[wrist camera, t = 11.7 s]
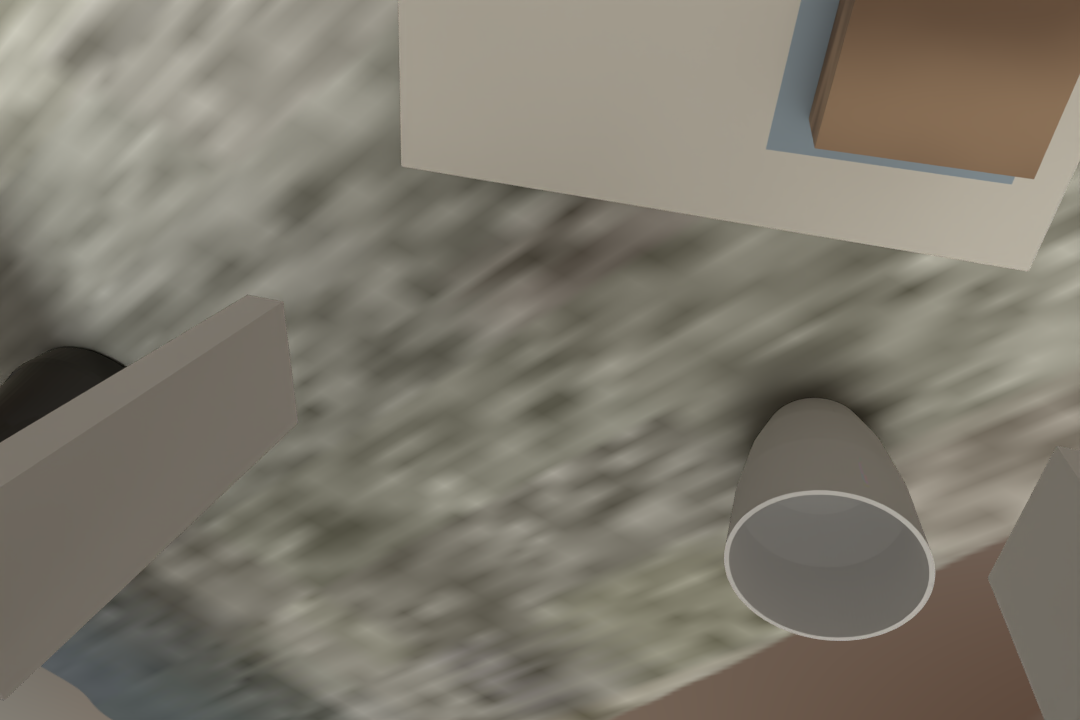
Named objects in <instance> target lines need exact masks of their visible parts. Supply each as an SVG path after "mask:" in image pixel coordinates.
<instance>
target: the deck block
mask: <svg viewBox="0 0 1080 720" xmlns="http://www.w3.org/2000/svg"><path fill="white" fill-rule="evenodd" d="M1079 75H1080V0H840V1H839V5H838V9H837V12H836V16H835V20H834V24H833V28H832V31H831V35H830V39H829V43H828V47H827V50H826V54H825V58H824V62H823V66H822V70H821V73H820V77H819V81H818V85H817V89H816V92H815V96H814V100H813V104H812V108H811V111H810V115H809V123H810V128H811V133H812V138H813V143H814V148H816V149H823V150H830V151H837V152H844V153H851V154H858V155H865V156H872V157H880V158H887V159H894V160H901V161H908V162H915V163H922V164H929V165H936V166H943V167H950V168H957V169H964V170H971V171H978V172H985V173H993V174H1000V175H1007V176H1014V177H1021V178H1028V179H1034V178H1035V176H1036V174H1037V171H1038V169H1039V167H1040V165H1041V162H1042V160H1043V158H1044V155H1045V153H1046V151H1047V149H1048V146H1049V144H1050V142H1051V139H1052V137H1053V135H1054V132H1055V130H1056V128H1057V126H1058V123H1059V121H1060V119H1061V116H1062V114H1063V112H1064V109H1065V107H1066V105H1067V103H1068V100H1069V98H1070V96H1071V93H1072V91H1073V89H1074V87H1075V84H1076V82H1077V80H1078V77H1079Z"/></svg>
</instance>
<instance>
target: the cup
mask: <svg viewBox="0 0 1080 720" xmlns="http://www.w3.org/2000/svg"><path fill="white" fill-rule="evenodd" d="M724 564H725V570H726V574H727V577H728V580H729V582H730V584H731V586H732V588H733V590H734V591H735V593H736V594H737V595H738V597H739V598H740V599H741V600H742V602H743V603H744V604H745V605H746V606H747V607H748V608H749V609H751V610H752V611H753V612H754V613H755V614H757V615H758V616H760V617H761V618H762V619H764V620H766V621H767V622H769V623H771V624H773V625H775V626H777V627H779V628H781V629H783V630H786V631H788V632H791V633H794V634H797V635H801V636H805V637H810V638H815V639H821V640H833V641H847V640H858V639H864V638H870V637H874V636H877V635H880V634H884V633H886V632H889V631H891V630H894V629H896V628H898V627H899V626H901V625H903V624H904V623H906V622H907V621H909V620H910V619H911V618H913V617H914V616H915V615H916V614H917V613H918V612H919V611H920V610H921V609H922V607H923V606H924V604H925V603H926V602H927V600H928V598H929V596H930V594H931V592H932V589H933V585H934V580H935V565H934V560H933V556H932V553H931V550H930V548H929V545H928V542H927V540H926V537H925V534H924V532H923V529H922V526H921V523H920V521H919V518H918V515H917V513H916V510H915V507H914V504H913V502H912V499H911V496H910V494H909V491H908V488H907V486H906V484H905V482H904V480H903V479H902V477H901V475H900V474H899V472H898V470H897V468H896V467H895V465H894V463H893V462H892V460H891V458H890V456H889V455H888V453H887V451H886V450H885V448H884V446H883V444H882V443H881V441H880V440H879V438H878V437H877V436H876V435H875V433H874V432H873V431H872V430H871V429H870V428H869V427H868V426H867V425H866V424H865V423H864V422H863V421H862V420H861V419H860V418H859V417H858V416H857V415H856V414H855V413H854V412H853V411H851V410H850V409H849V408H847V407H846V406H844V405H842V404H840V403H838V402H835V401H832V400H828V399H823V398H806V399H800V400H796V401H793V402H791V403H789V404H787V405H785V406H783V407H782V408H780V409H779V410H778V411H777V412H776V413H775V414H774V415H773V416H772V417H771V419H770V420H769V421H768V423H767V424H766V425H765V427H764V428H763V429H762V431H761V432H760V434H759V435H758V436H757V438H756V439H755V441H754V443H753V445H752V448H751V450H750V453H749V455H748V458H747V461H746V463H745V466H744V469H743V471H742V474H741V476H740V479H739V482H738V484H737V488H736V492H735V498H734V503H733V508H732V514H731V519H730V524H729V530H728V535H727V541H726V546H725V552H724Z"/></svg>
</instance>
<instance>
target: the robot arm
mask: <svg viewBox="0 0 1080 720" xmlns="http://www.w3.org/2000/svg"><path fill="white" fill-rule="evenodd" d="M297 423H298V417H297V409H296V401H295V393H294V385H293V377H292V369H291V361H290V353H289V345H288V337H287V329H286V320H285V312H284V304H283V301H278V300H273V299H267V298H262V297H257V296H251V295H246V296H245V297H243V298H241V299H240V300H238V301H236V302H235V303H233V304H231V305H230V306H228V307H226V308H225V309H223V310H221V311H220V312H218V313H216V314H215V315H213V316H211V317H210V318H208V319H206V320H204V321H203V322H201V323H199V324H198V325H196V326H194V327H193V328H191V329H189V330H188V331H186V332H184V333H183V334H181V335H179V336H178V337H176V338H174V339H173V340H171V341H169V342H168V343H166V344H164V345H163V346H161V347H159V348H158V349H156V350H154V351H153V352H151V353H149V354H148V355H146V356H144V357H143V358H141V359H139V360H138V361H136V362H134V363H133V364H131V365H129V366H128V367H126V368H124V367H122V366H121V365H119V364H117V363H116V362H114V361H112V360H110V359H108V358H106V357H104V356H102V355H100V354H97V353H94V352H92V351H88V350H85V349H80V348H72V347H62V348H56V349H52V350H50V351H48V352H46V353H44V354H42V355H40V356H38V357H36V358H34V359H32V360H30V361H28V362H26V363H24V364H22V365H21V366H19V367H18V368H17V369H15V370H14V371H13V372H12V374H11V375H10V376H9V377H8V379H7V380H6V381H5V383H4V384H3V385H1V386H0V700H3V701H4V700H5V699H6V698H7V697H8V696H10V694H12V693H13V692H14V691H15V690H16V689H17V688H18V687H19V686H20V685H21V684H22V683H23V682H24V681H25V680H26V679H28V678H29V677H30V675H32V674H33V673H34V672H35V671H36V670H37V669H38V668H39V667H40V666H41V665H42V664H43V663H44V662H45V661H47V660H48V659H49V658H50V657H51V656H52V655H53V654H54V653H55V652H56V651H57V650H58V649H59V648H60V647H61V646H62V645H63V644H65V643H66V642H67V641H68V640H69V639H70V638H71V637H72V636H73V635H74V634H75V633H76V632H77V631H78V630H79V629H80V628H81V627H83V626H84V625H85V624H86V623H87V622H88V621H89V620H90V619H91V618H92V617H93V616H94V615H95V614H96V613H97V612H98V611H99V610H101V609H102V608H103V607H104V606H105V605H106V604H107V603H108V602H109V601H110V600H111V599H112V598H113V597H114V596H115V595H116V594H117V593H119V592H120V591H121V590H122V589H123V588H124V587H125V586H126V585H127V584H128V583H129V582H130V581H131V580H132V579H133V578H134V577H135V576H137V575H138V574H139V573H140V572H141V571H142V570H143V569H144V568H145V567H146V566H147V565H148V564H149V563H150V562H151V561H152V560H153V559H155V558H156V557H157V556H158V555H159V554H160V553H161V552H162V551H163V550H164V549H165V548H166V547H167V546H168V545H169V544H170V543H171V542H172V541H174V540H175V539H176V538H177V537H178V536H179V535H180V534H181V533H182V532H183V531H184V530H185V529H186V528H187V527H188V526H189V525H190V524H192V523H193V522H194V521H195V520H196V519H197V518H198V517H199V516H200V515H201V514H202V513H203V512H204V511H205V510H206V509H207V508H208V507H210V506H211V505H212V504H213V503H214V502H215V501H216V500H217V499H218V498H219V497H220V496H221V495H222V494H223V493H224V492H225V491H226V490H228V489H229V488H230V487H231V486H232V485H233V484H234V483H235V482H236V481H237V480H238V479H239V478H240V477H241V476H242V475H243V474H244V473H246V472H247V471H248V470H249V469H250V468H251V467H252V466H253V465H254V464H255V463H256V462H257V461H258V460H259V459H260V458H261V457H262V456H264V455H265V454H266V453H267V452H268V451H269V450H270V449H271V448H272V447H273V446H274V445H275V444H276V443H277V442H278V441H279V440H280V439H282V438H283V437H284V436H285V435H286V434H287V433H288V432H289V431H290V430H291V429H292V428H293V427H294V426H295V425H296V424H297ZM988 580H989V582H990V585H991V587H992V590H993V592H994V595H995V597H996V599H997V602H998V605H999V607H1000V610H1001V612H1002V615H1003V617H1004V620H1005V622H1006V624H1007V627H1008V630H1009V632H1010V635H1011V637H1012V640H1013V642H1014V645H1015V647H1016V650H1017V652H1018V655H1019V657H1020V660H1021V662H1022V665H1023V667H1024V670H1025V672H1026V675H1027V677H1028V680H1029V682H1030V685H1031V687H1032V690H1033V692H1034V695H1035V697H1036V700H1037V702H1038V705H1039V707H1040V710H1041V712H1042V715H1043V718H1044V720H1080V450H1076V449H1071V448H1066V447H1060V446H1056V448H1055V450H1054V452H1053V454H1052V456H1051V458H1050V460H1049V462H1048V463H1047V465H1046V467H1045V469H1044V471H1043V473H1042V475H1041V477H1040V479H1039V481H1038V483H1037V484H1036V486H1035V488H1034V490H1033V492H1032V494H1031V496H1030V498H1029V500H1028V502H1027V504H1026V506H1025V507H1024V509H1023V511H1022V513H1021V515H1020V517H1019V519H1018V521H1017V523H1016V525H1015V527H1014V529H1013V530H1012V532H1011V534H1010V536H1009V538H1008V540H1007V542H1006V544H1005V546H1004V548H1003V550H1002V552H1001V554H1000V555H999V557H998V559H997V561H996V563H995V565H994V567H993V569H992V571H991V573H990V575H989V576H988Z"/></svg>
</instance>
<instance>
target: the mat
mask: <svg viewBox="0 0 1080 720" xmlns="http://www.w3.org/2000/svg"><path fill="white" fill-rule="evenodd" d="M839 1H840V0H398V14H399V69H400V123H401V166H402V167H408V168H414V169H420V170H426V171H432V172H438V173H444V174H450V175H456V176H462V177H467V178H473V179H479V180H485V181H491V182H497V183H503V184H509V185H515V186H521V187H527V188H533V189H539V190H545V191H551V192H557V193H563V194H569V195H575V196H581V197H587V198H593V199H599V200H605V201H611V202H617V203H623V204H629V205H635V206H641V207H647V208H653V209H659V210H665V211H671V212H677V213H683V214H689V215H695V216H701V217H707V218H713V219H719V220H725V221H730V222H736V223H742V224H748V225H754V226H760V227H766V228H772V229H778V230H784V231H790V232H796V233H802V234H808V235H814V236H820V237H826V238H832V239H838V240H844V241H850V242H856V243H862V244H868V245H874V246H880V247H886V248H892V249H898V250H904V251H910V252H916V253H922V254H928V255H934V256H940V257H946V258H952V259H958V260H964V261H970V262H976V263H982V264H987V265H993V266H999V267H1005V268H1011V269H1017V270H1023V271H1029V270H1030V267H1031V265H1032V263H1033V261H1034V259H1035V257H1036V254H1037V252H1038V250H1039V248H1040V246H1041V244H1042V241H1043V239H1044V237H1045V235H1046V233H1047V231H1048V228H1049V226H1050V224H1051V222H1052V220H1053V218H1054V215H1055V213H1056V211H1057V209H1058V207H1059V205H1060V202H1061V200H1062V198H1063V196H1064V194H1065V192H1066V189H1067V187H1068V185H1069V183H1070V181H1071V179H1072V176H1073V174H1074V172H1075V170H1076V168H1077V166H1078V163H1079V161H1080V75H1079V77H1078V80H1077V82H1076V84H1075V87H1074V89H1073V91H1072V93H1071V96H1070V98H1069V100H1068V103H1067V105H1066V107H1065V109H1064V112H1063V114H1062V116H1061V119H1060V121H1059V123H1058V126H1057V128H1056V130H1055V132H1054V135H1053V137H1052V139H1051V142H1050V144H1049V146H1048V149H1047V151H1046V153H1045V155H1044V158H1043V160H1042V162H1041V165H1040V167H1039V169H1038V171H1037V174H1036V176H1035V178H1034V179H1028V178H1021V177H1014V176H1007V175H1000V174H993V173H985V172H978V171H971V170H964V169H957V168H950V167H943V166H936V165H929V164H922V163H915V162H908V161H901V160H894V159H887V158H880V157H872V156H865V155H858V154H851V153H844V152H837V151H830V150H823V149H816V148H814V143H813V138H812V133H811V128H810V123H809V115H810V111H811V108H812V104H813V100H814V96H815V92H816V89H817V85H818V81H819V77H820V73H821V70H822V66H823V62H824V58H825V54H826V50H827V47H828V43H829V39H830V35H831V31H832V28H833V24H834V20H835V16H836V12H837V9H838V5H839Z"/></svg>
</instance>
